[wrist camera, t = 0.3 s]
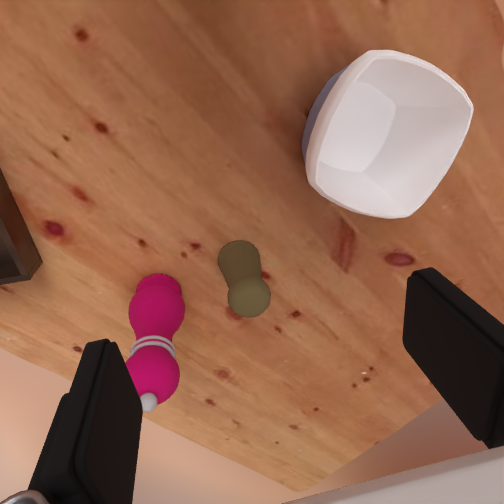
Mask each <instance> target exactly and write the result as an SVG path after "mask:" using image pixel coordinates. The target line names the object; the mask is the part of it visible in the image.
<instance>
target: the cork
mask: <svg viewBox="0 0 504 504" xmlns="http://www.w3.org/2000/svg"><path fill="white" fill-rule="evenodd" d="M218 265H219V267H220V270H221V272H222V274H223V276H224V278H225V281H226V283H227V285H228V287H229V291H228V303H229V305H230V308H231V309H232V310H233V311H234V312H235V313H236V314H237V315H239V316H242V317H246V318H251V317H256V316H258V315H260V314H262V313H263V312H264V311H265V310H266V309H267V307H268V306H269V303H270V298H271V293H270V290H269V287H268V285H267V284H266V283H265V281H264V280H263V279H262V272H261V264H260V255H259V252H258V249H257V248H256V247H255V246H254V245H253V244H251V243H250V242H247V241H243V240H240V241H233V242H231V243H228V244H227V245H226V246H224V247H223V248H222V250H221V251H220V253H219V256H218Z"/></svg>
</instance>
